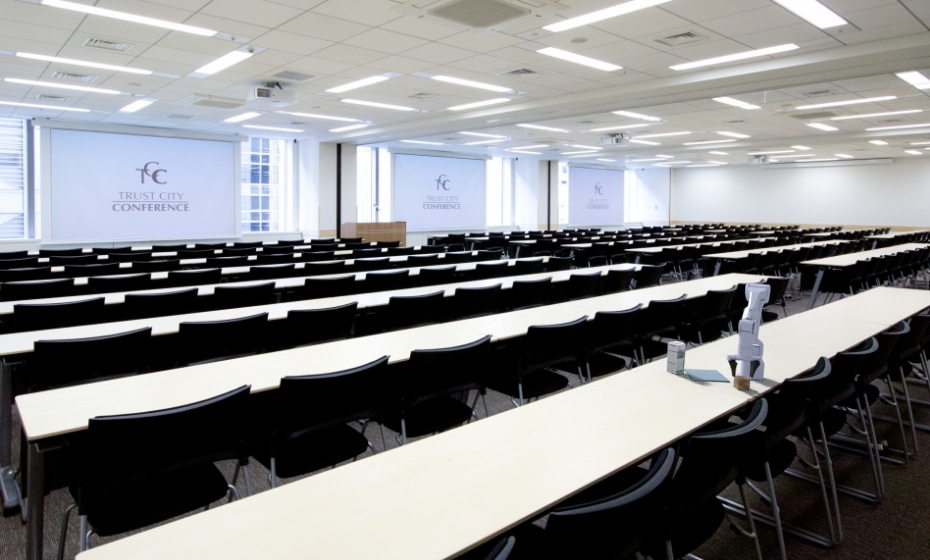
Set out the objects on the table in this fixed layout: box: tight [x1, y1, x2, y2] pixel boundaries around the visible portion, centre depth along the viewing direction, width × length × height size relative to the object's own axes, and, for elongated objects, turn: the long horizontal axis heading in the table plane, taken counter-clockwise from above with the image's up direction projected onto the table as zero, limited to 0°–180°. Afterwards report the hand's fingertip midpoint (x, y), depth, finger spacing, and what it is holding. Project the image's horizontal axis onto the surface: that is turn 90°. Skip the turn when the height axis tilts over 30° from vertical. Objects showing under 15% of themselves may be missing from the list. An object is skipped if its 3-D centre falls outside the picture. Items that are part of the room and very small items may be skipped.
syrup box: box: [666, 340, 687, 375], centre depth 278 cm, size 6×6×14 cm
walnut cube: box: [733, 375, 751, 391], centre depth 257 cm, size 5×5×5 cm
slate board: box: [684, 368, 731, 383], centre depth 274 cm, size 16×16×1 cm
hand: (742, 376), depth 257 cm, fingers open, 7 cm apart
